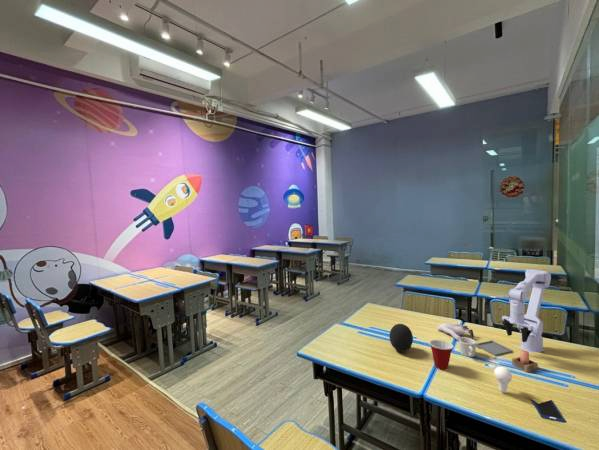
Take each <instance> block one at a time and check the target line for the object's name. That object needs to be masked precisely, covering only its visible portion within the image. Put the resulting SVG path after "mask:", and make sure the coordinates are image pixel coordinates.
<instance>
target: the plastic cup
mask: <svg viewBox="0 0 599 450" xmlns="http://www.w3.org/2000/svg"><path fill="white" fill-rule="evenodd" d="M428 344H429V346H430V349H431V352H432V353H431V354H432V357H433V358H432V359H433V362H434V363H433V364H434V367H435V368H436V369H438V370H441V371H446V370H448V368H449V364H450V359H451V354H452V350H453V348H454V345H453V344H452V343H451V342H449V341H446V340H443V339H431V340H429V343H428Z"/></svg>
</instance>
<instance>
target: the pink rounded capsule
mask: <svg viewBox="0 0 599 450" xmlns="http://www.w3.org/2000/svg"><path fill="white" fill-rule="evenodd" d="M519 354H520V356H519V357H520V362H521V363H523V364H525V365H528V364H529V360H530V352H528V351H526V350H524V349H522V350H520V353H519Z"/></svg>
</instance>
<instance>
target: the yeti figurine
mask: <svg viewBox="0 0 599 450" xmlns="http://www.w3.org/2000/svg"><path fill="white" fill-rule="evenodd" d="M436 330H437V331H439V332H443V333H445V334H447V335H451V336H452V337H453V338H454V339H455V340H457V342H459V338H462V337H463V335H464V334H467V333H468V334H469V336H470V337H469V338H471V339H473V340H474V337H475V335H474V331H473V329H469V327H468V325H463V324H460V323H454V322H453V323H449V322H443V323H440V324H439V325H438V326H437V329H436Z"/></svg>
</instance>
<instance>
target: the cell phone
mask: <svg viewBox="0 0 599 450" xmlns="http://www.w3.org/2000/svg"><path fill="white" fill-rule="evenodd" d="M530 401H531V403H532V404H533V406H534V408H535V409H536V411H537V413H538V415H539V417H541V418H542V419H545V420H547V421H548V420H550V421H555V422H557V423H564V424H566V423H567V421H566V420H565V417H564V416H563V415H562V413H561V411H559V409H558V407H557V406H556V404H555V402H554V401H553V400H552V399H550V400H546V401H543V402H540V403H538V402H536V400H533V399H532V398H530Z"/></svg>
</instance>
